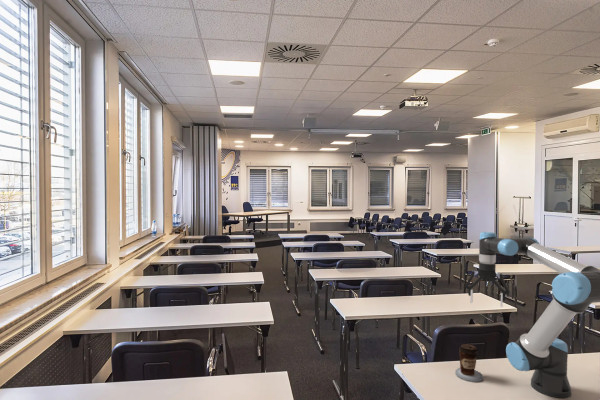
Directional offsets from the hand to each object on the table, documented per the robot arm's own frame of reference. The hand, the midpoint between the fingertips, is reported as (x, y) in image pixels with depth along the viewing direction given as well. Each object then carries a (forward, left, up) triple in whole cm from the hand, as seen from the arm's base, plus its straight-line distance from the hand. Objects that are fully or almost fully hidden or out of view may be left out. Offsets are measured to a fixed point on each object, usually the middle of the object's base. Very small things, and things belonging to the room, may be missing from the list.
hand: (486, 304), depth 186 cm
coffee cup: (+7, +15, -31) cm, 35 cm away
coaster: (+6, +15, -32) cm, 36 cm away
